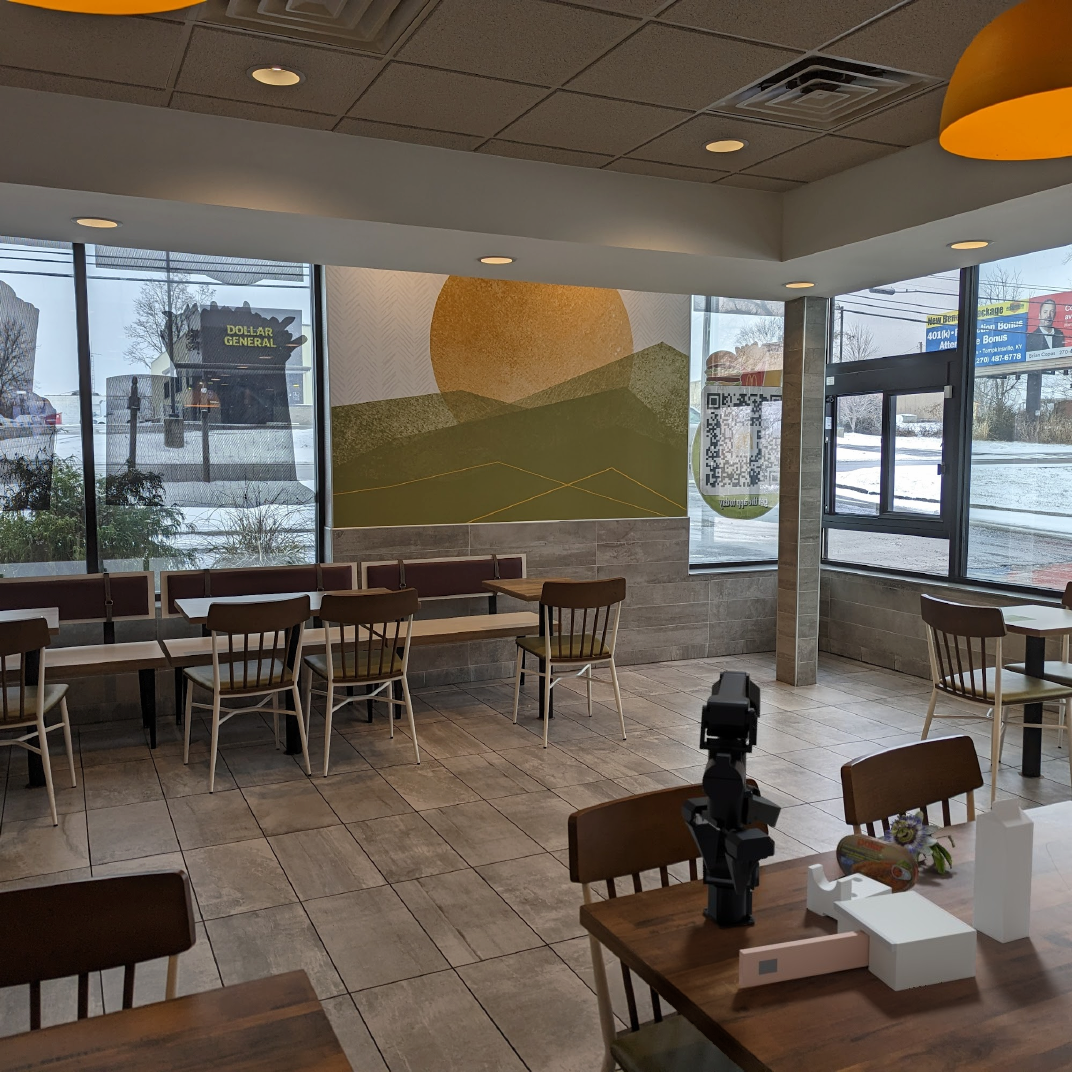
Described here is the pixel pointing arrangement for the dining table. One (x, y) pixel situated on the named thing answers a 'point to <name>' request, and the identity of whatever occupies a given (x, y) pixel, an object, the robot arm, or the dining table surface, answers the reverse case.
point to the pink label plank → (803, 958)
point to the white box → (910, 939)
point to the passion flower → (918, 839)
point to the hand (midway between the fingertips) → (724, 881)
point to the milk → (1003, 871)
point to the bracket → (838, 890)
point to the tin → (877, 861)
